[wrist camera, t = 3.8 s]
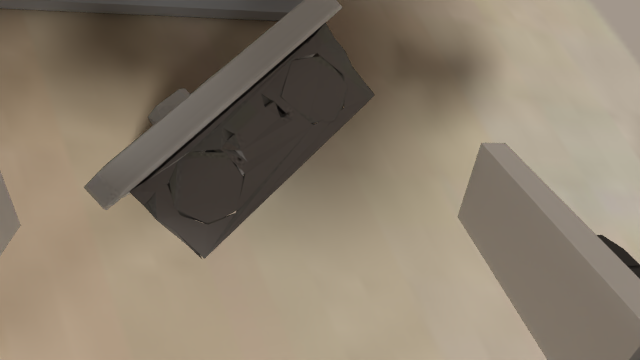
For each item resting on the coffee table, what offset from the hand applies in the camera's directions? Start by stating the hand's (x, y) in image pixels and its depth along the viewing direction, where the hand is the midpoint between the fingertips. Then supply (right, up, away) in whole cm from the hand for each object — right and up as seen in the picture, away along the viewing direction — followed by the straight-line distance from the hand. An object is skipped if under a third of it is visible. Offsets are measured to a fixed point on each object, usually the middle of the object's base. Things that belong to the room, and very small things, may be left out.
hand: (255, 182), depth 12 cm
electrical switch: (-2, +1, +9) cm, 9 cm away
